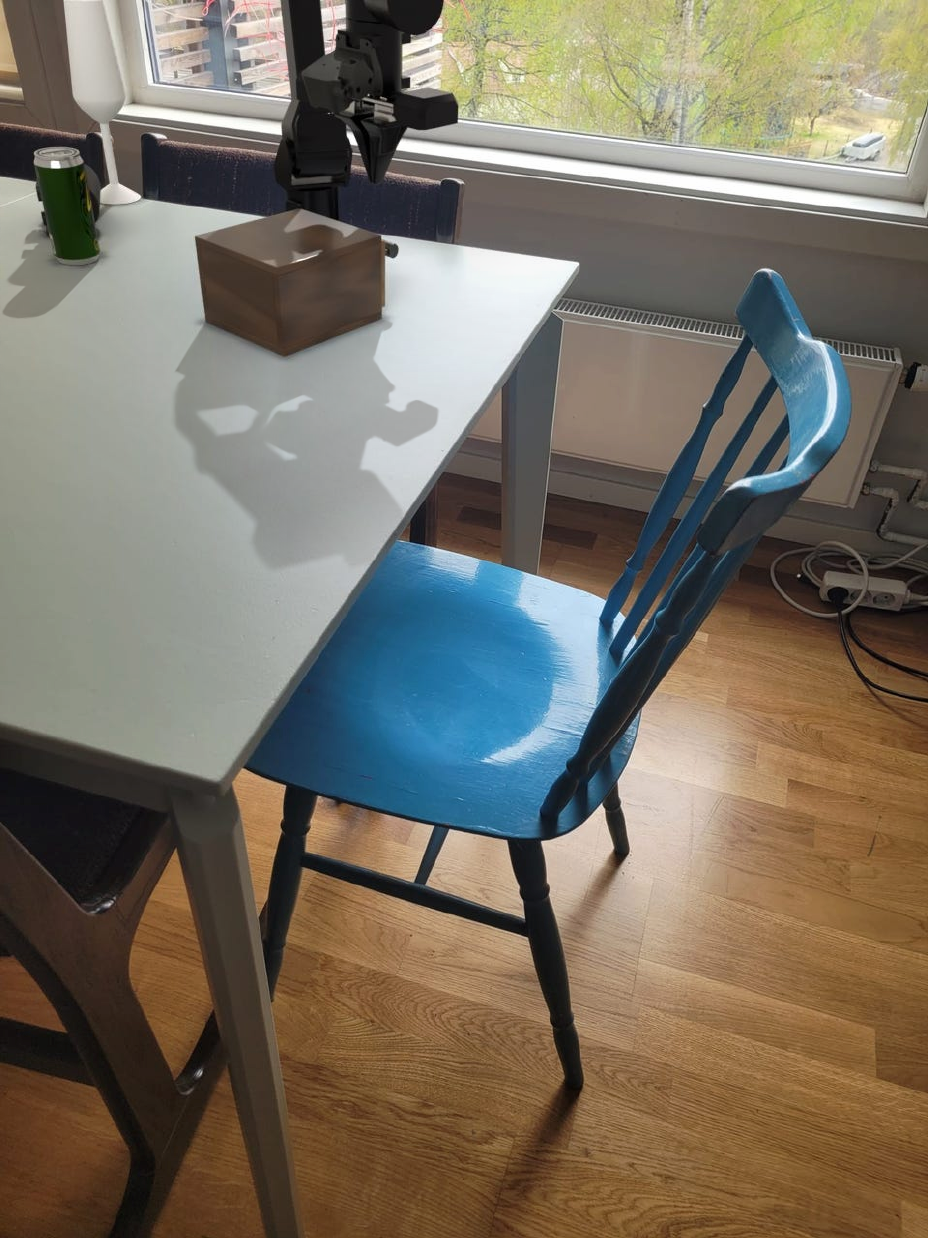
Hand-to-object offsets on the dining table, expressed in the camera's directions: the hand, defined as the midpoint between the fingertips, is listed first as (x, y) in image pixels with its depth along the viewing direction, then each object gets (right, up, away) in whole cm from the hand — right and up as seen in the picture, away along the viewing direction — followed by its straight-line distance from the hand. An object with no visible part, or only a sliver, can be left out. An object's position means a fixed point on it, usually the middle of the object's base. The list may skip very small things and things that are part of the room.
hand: (375, 183), depth 106 cm
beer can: (-37, -4, +11) cm, 39 cm away
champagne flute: (-40, +12, +31) cm, 51 cm away
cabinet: (-9, -15, 0) cm, 18 cm away
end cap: (-41, +4, +20) cm, 46 cm away
